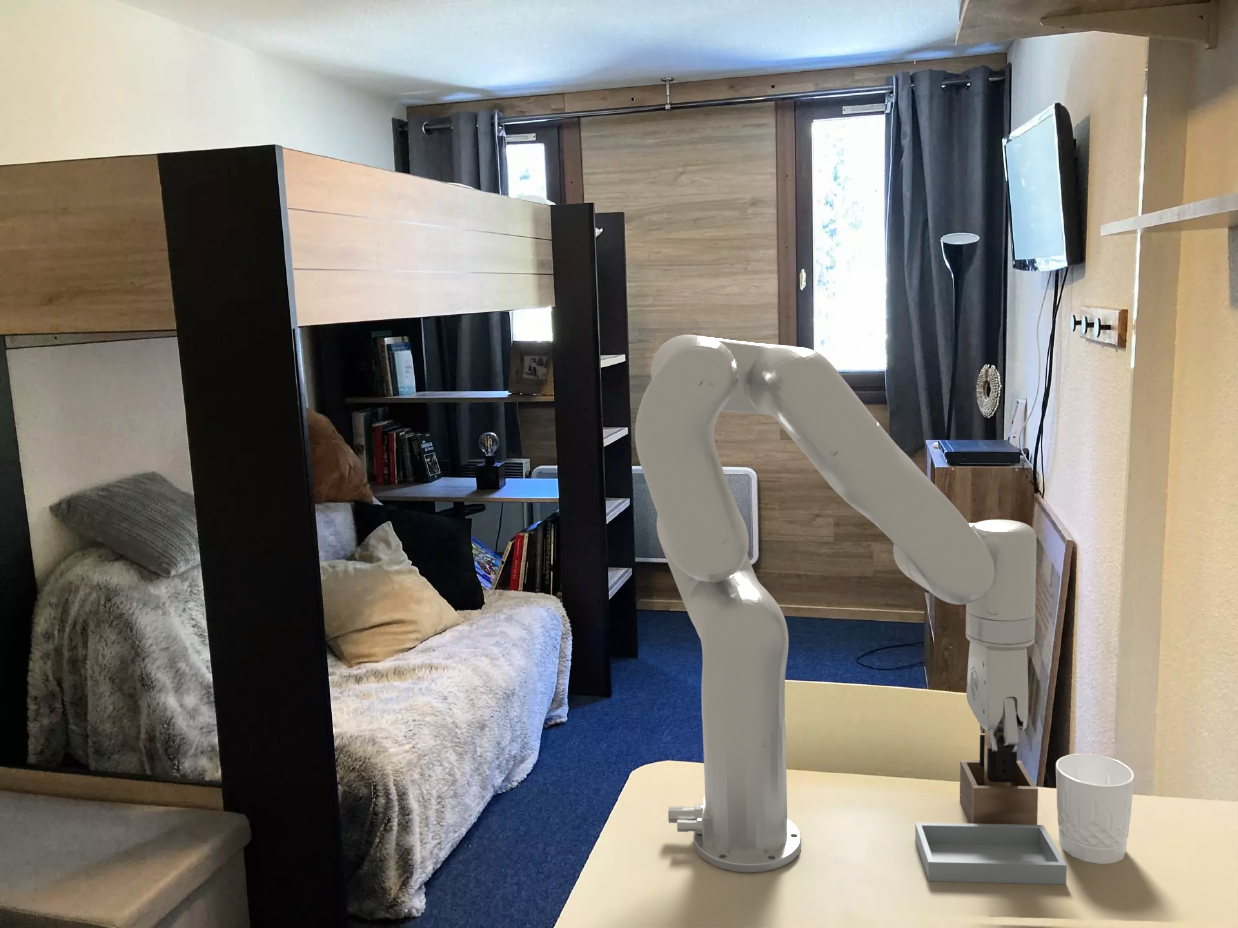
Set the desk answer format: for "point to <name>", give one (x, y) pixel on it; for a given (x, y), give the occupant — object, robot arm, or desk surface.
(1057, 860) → the tray
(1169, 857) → the desk surface
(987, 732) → the dowel
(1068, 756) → the white cup
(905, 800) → the desk surface
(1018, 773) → the pen pot
